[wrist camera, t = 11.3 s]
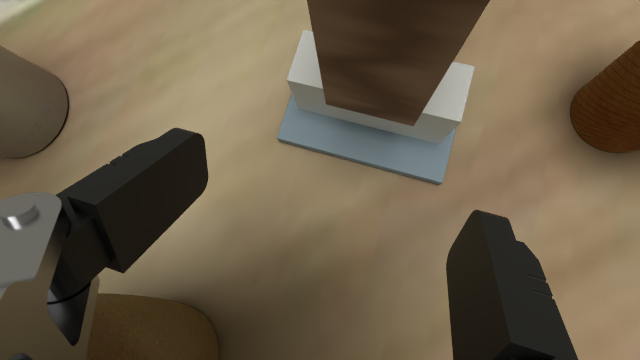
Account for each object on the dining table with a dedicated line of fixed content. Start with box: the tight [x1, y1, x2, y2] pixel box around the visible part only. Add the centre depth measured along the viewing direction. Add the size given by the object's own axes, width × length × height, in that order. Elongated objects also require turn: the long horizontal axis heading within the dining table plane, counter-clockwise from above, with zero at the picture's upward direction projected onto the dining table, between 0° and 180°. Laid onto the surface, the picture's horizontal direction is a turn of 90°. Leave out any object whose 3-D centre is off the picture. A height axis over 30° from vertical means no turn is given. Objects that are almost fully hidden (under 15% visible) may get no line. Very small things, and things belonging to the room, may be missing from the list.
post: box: [307, 0, 490, 126], centre depth 15 cm, size 6×6×12 cm
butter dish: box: [277, 30, 475, 185], centre depth 24 cm, size 14×10×6 cm
